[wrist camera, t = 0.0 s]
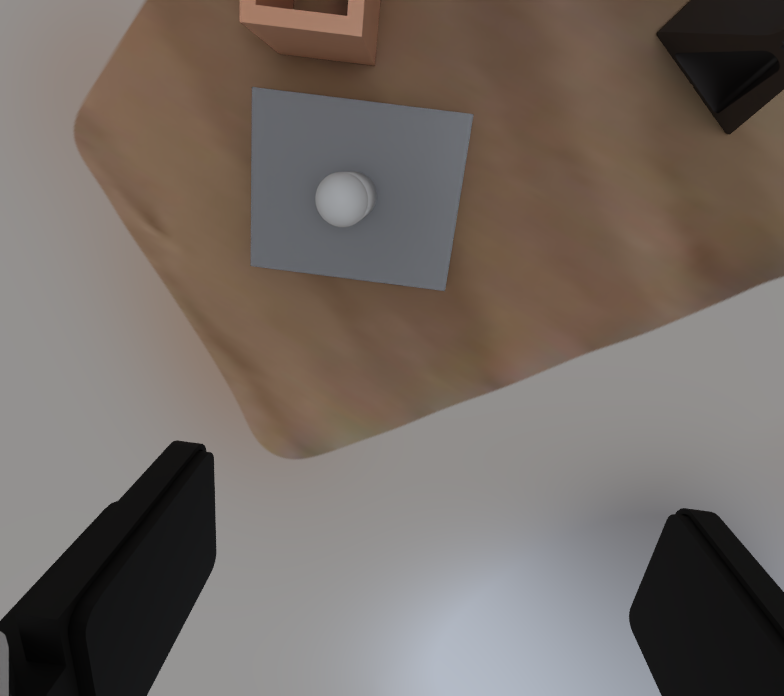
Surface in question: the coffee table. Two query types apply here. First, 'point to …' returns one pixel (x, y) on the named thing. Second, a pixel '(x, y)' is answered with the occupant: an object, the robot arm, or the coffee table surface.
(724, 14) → the phone stand
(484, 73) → the coffee table surface
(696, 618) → the robot arm
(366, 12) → the sleeve
